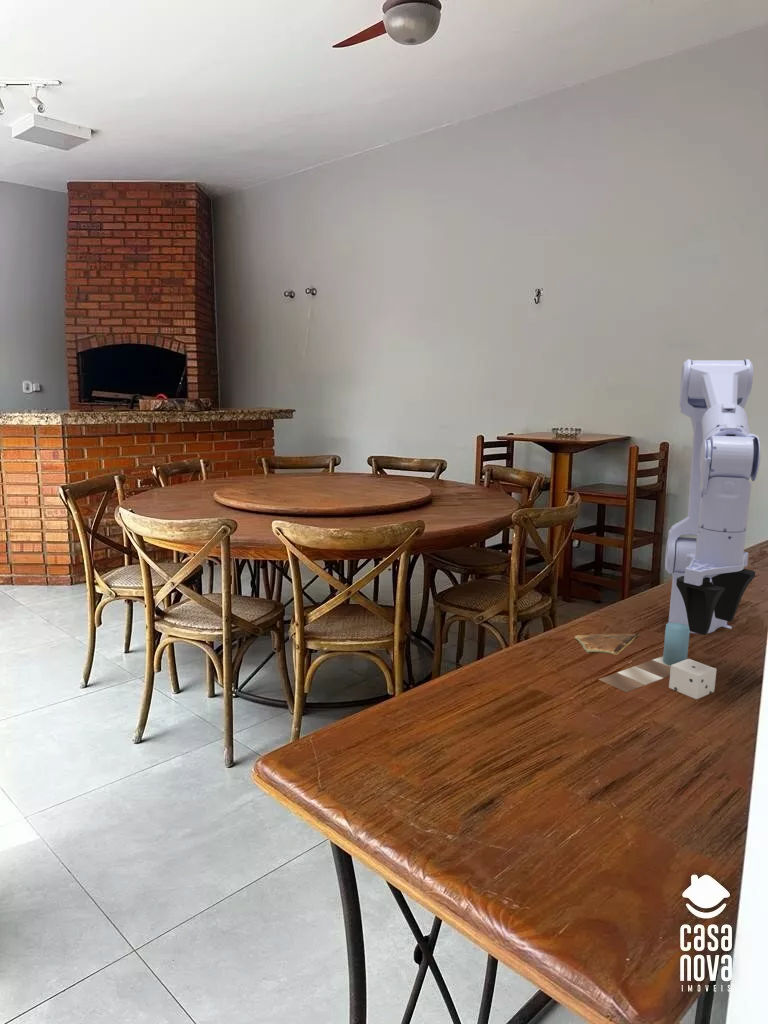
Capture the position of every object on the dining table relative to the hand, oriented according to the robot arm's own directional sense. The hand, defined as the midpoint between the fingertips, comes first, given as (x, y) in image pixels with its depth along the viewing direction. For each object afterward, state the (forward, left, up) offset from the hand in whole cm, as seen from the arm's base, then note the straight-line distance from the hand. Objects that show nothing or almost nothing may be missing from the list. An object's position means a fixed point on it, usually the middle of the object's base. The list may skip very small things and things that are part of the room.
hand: (711, 625), depth 93 cm
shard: (0, -17, -9) cm, 19 cm away
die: (+4, +1, -9) cm, 10 cm away
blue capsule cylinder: (-2, -6, -8) cm, 10 cm away
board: (+4, -6, -8) cm, 11 cm away
